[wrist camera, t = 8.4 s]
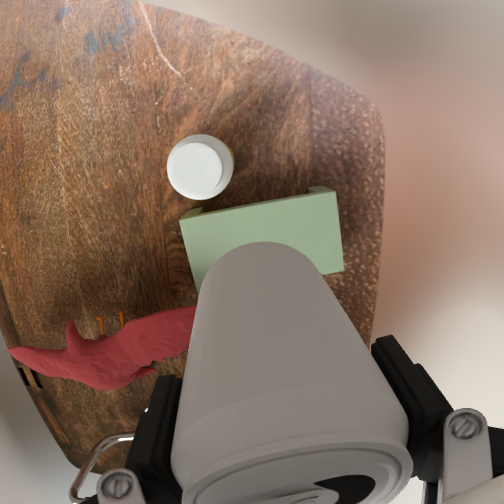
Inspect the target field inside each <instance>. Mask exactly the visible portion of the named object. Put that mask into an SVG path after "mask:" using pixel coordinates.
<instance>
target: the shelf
mask: <svg viewBox="0 0 504 504" xmlns="http://www.w3.org/2000/svg"><path fill="white" fill-rule="evenodd" d="M179 223H180V227H181V231H182V235H183V239H184V243H185V247H186V251H187V255H188V259H189V263H190V267H191V271H192V275H193V278H194V282H195V286H196V290H197V293H198V297H199V293H200V289H201V285H202V282H203V280H204V278H205V276H206V274H207V272H208V271H209V269H210V268H211V266H212V265H213V264H214V263H215V262H216V261H217V260H218V259H219V258H220V257H222V256H223V255H224V254H226V253H227V252H229V251H231V250H232V249H234V248H237V247H239V246H242V245H245V244H249V243H253V242H266V241H267V242H276V243H281V244H285V245H288V246H290V247H292V248H294V249H296V250H298V251H300V252H301V253H303V254H304V255H305V256H307V257H308V258H309V259H310V260H311V261H312V263H313V264H314V265H315V266H316V268H317V269H318V271H319V272H320V274H321V275H325V274H330V273H335V272H340V271H344V261H343V251H342V241H341V231H340V223H339V214H338V206H337V198H336V192H335V191H334V190H332V189H329V188H327V187H325V186H323V185H320V186H314V187H308V194H302V195H297V196H291V197H285V198H279V199H274V200H268V201H263V202H257V203H252V204H246V205H241V206H236V207H231V208H226V209H221V210H215V211H210V212H206V213H204V210H203V207H200V208H195V209H190V210H188V211H187V212H186V213H185V214H184V215H183V216H182V217H181V219H180V220H179Z"/></svg>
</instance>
